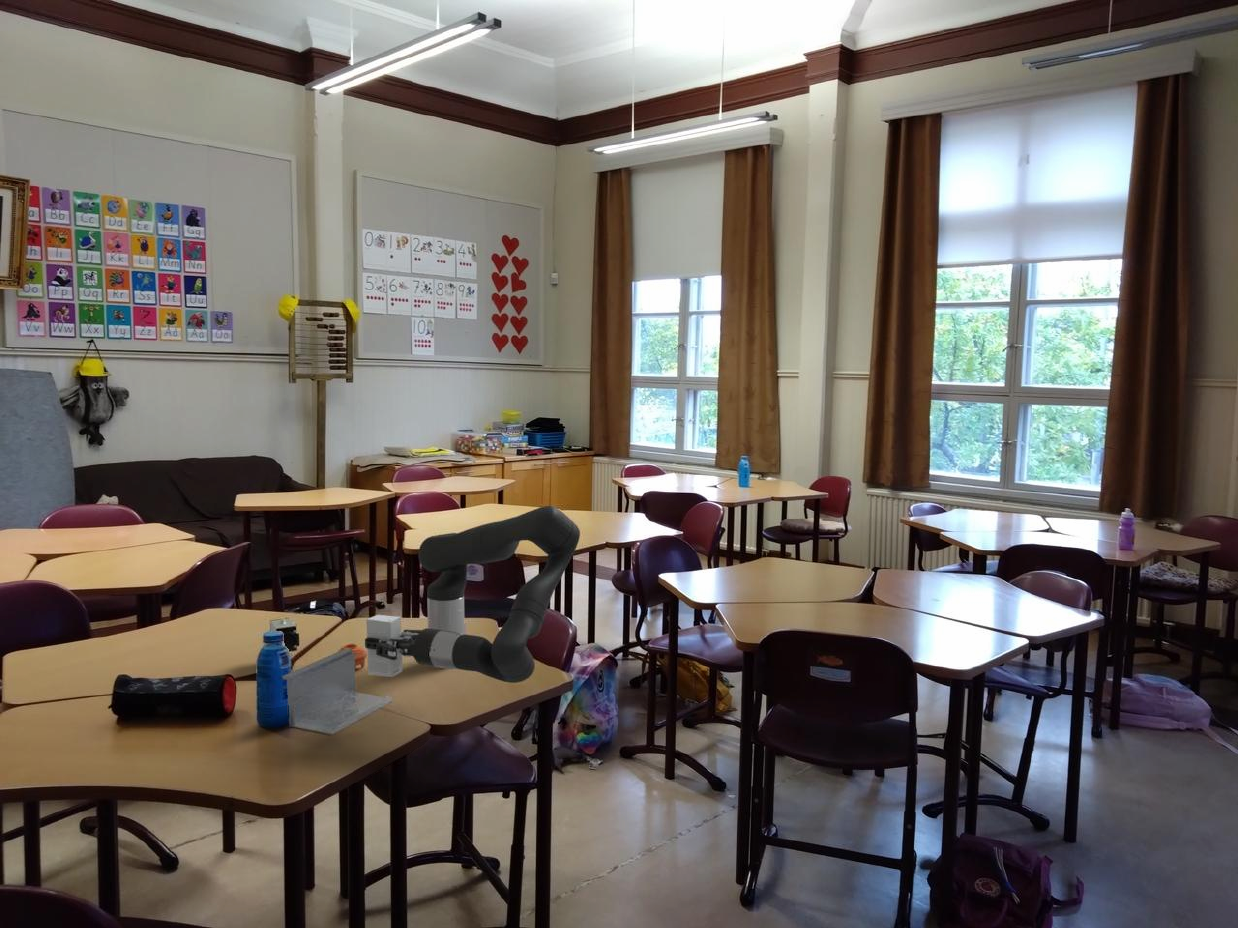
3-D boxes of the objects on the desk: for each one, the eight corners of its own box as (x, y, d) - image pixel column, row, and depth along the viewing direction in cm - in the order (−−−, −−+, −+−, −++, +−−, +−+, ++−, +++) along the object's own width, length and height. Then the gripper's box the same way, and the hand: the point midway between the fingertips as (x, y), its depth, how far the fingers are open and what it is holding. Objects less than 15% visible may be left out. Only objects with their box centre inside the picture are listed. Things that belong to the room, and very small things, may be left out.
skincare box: (403, 671, 188) (401, 616, 187) (391, 677, 184) (390, 622, 183) (378, 668, 190) (377, 614, 189) (367, 674, 186) (365, 619, 185)
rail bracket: (346, 693, 204) (345, 648, 203) (391, 701, 200) (390, 655, 199) (283, 724, 186) (282, 676, 185) (332, 734, 181) (331, 684, 180)
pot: (364, 673, 217) (357, 647, 216) (334, 680, 217) (326, 654, 216) (373, 661, 225) (366, 636, 224) (344, 668, 225) (337, 643, 224)
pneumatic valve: (278, 673, 217) (277, 626, 216) (269, 660, 227) (268, 614, 226) (302, 669, 220) (300, 622, 219) (292, 656, 230) (291, 611, 229)
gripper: (460, 621, 188) (393, 613, 194) (421, 640, 174) (351, 631, 181) (460, 656, 188) (394, 646, 195) (422, 677, 175) (352, 666, 181)
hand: (373, 639), depth 188 cm, fingers closed on skincare box, 4 cm apart
